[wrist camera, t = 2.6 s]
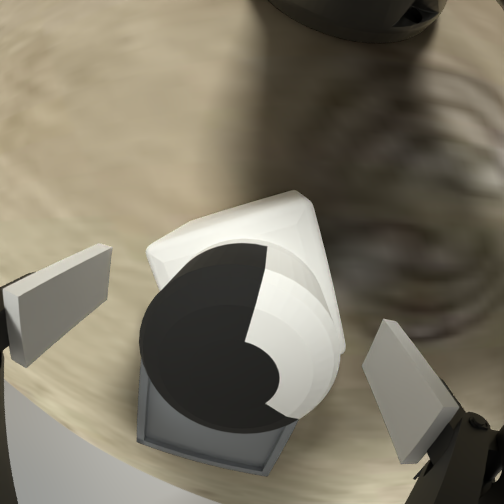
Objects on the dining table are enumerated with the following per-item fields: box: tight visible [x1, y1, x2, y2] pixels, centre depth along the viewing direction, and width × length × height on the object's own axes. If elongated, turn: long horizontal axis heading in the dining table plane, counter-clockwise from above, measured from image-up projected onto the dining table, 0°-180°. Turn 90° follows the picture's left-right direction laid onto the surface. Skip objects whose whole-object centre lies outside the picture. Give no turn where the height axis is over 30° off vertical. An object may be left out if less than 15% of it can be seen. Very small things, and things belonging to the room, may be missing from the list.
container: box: [139, 190, 346, 434], centre depth 15 cm, size 8×8×13 cm
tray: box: [137, 358, 298, 476], centre depth 24 cm, size 14×14×1 cm
